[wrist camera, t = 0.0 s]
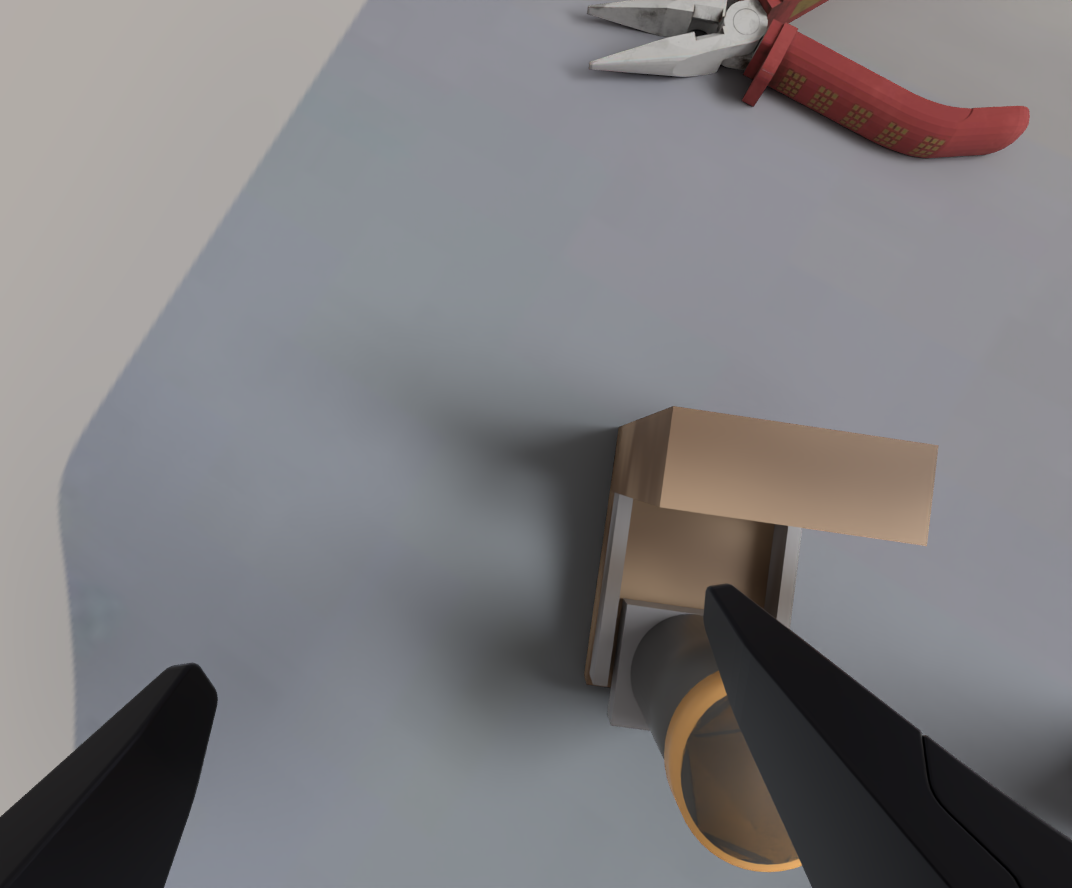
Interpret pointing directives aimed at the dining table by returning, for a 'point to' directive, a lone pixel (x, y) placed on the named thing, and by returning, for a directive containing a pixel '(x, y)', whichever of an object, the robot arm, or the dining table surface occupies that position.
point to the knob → (695, 734)
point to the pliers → (801, 73)
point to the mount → (741, 510)
